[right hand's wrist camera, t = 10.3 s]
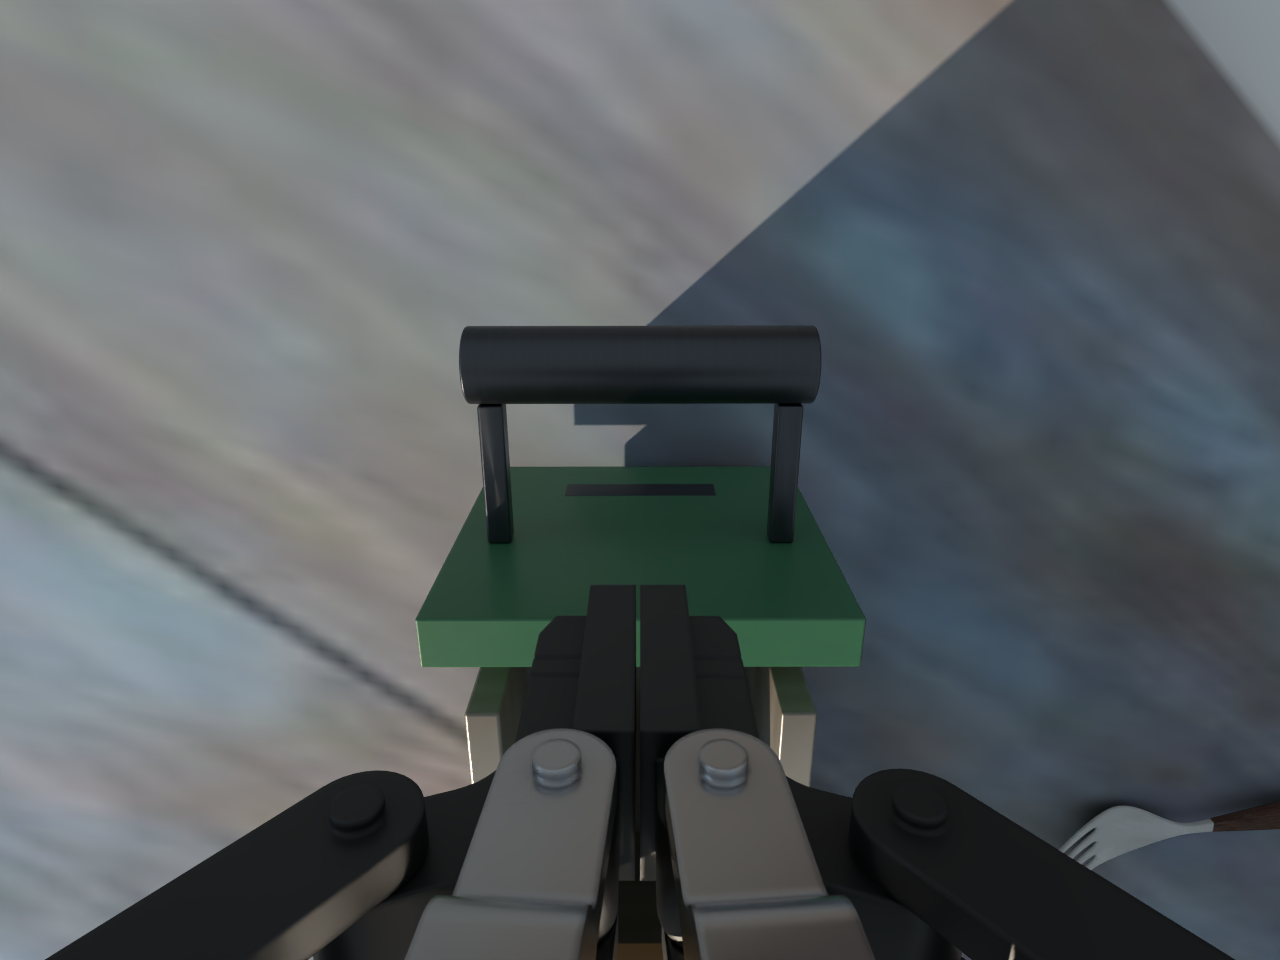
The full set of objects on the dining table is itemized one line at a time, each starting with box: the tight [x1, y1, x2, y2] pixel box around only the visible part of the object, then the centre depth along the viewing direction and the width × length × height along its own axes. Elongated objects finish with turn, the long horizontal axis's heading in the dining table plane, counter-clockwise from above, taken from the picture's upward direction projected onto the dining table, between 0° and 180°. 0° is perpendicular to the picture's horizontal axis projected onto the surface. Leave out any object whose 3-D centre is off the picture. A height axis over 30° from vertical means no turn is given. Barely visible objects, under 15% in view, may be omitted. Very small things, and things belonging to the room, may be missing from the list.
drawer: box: [415, 326, 866, 943], centre depth 22 cm, size 20×9×9 cm, turn 0°
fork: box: [1058, 801, 1280, 870], centre depth 30 cm, size 3×16×2 cm, turn 101°
